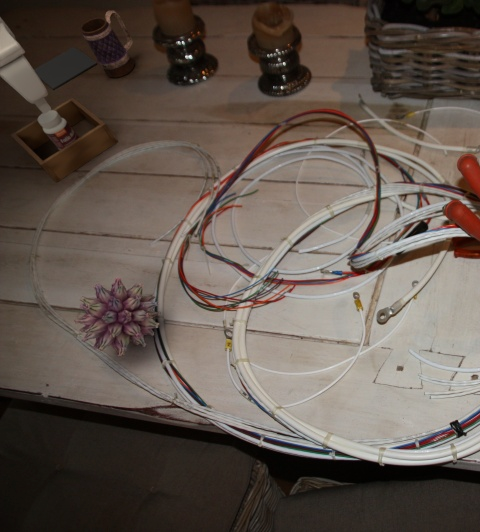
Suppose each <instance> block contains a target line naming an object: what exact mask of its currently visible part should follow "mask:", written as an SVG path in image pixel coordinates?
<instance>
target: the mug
mask: <svg viewBox="0 0 480 532" xmlns="http://www.w3.org/2000/svg"><path fill="white" fill-rule="evenodd" d="M112 17H114V18H115V19H116V21H117V23H118V25H119V27H120V29H121V31H122V32H123V34H124V36H125V38H126V44H125V45H123V44H122V42H121V40H120V39H119V37H118V35H117V34H116V33H115V31H114V30H113V28H112V26H111V24H112ZM80 32H81V35H82V36H83V38H84V40H85V41H86V43H87V44H88V46H89V48H90V49H91V51H92V53H93V54H94V56H95V57H96V61H97V63H98V64H99V65H100V68H102V69H103V71H104V72H105V74H106V76H108V77H110V78H113V79H114V78H120V77H121V78H122V77H124V76H126V75H128V74H129V73H131V72H132V71H133V69H134V68H135V62H134V61H133V59H132V57H131V56H130V53H129V52H128V51H129V50H130V49H131V47H132V45H133V39H132V36H131V35H130V32H129V31H128V29H127V28H126V26H125V24H124V21H123V19H122V17H121V16H120V15H119V13H118V12H117V11H115V10H107V11H106V12H105V15H104V17H94V18H91V19H88V20H86V21H84V23H83V24H82V25H81V26H80Z"/></svg>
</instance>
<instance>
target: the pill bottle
mask: <svg viewBox="0 0 480 532" xmlns="http://www.w3.org/2000/svg"><path fill="white" fill-rule="evenodd" d="M37 119H38V122H39V124H40V125H41V126H42V127H43V131H44V132H45V134H46V135H47V136H48V137H49V138H50V139H51V140H50V141H51V142H52V144H54V145H55V147H56V148H57V149H58V151H60V150H61V149H63V148H64V147H66V146H67V145H69V144H70V143H72V142H74V141H75V140H77V139H78V138H80V137H79V135H78V134H77V133H76V131H75V130H74V129H73V128H72V127H71V126H70V125H69V124H68V123H67V121H66V120H65V119H64V118H61V117H60V115H59V114H58V113H57V112H56V111H54V110H53V109H51V110H50V111H49V112H47V113H42V112H41V113H40V115H39V116H38V117H37Z"/></svg>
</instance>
